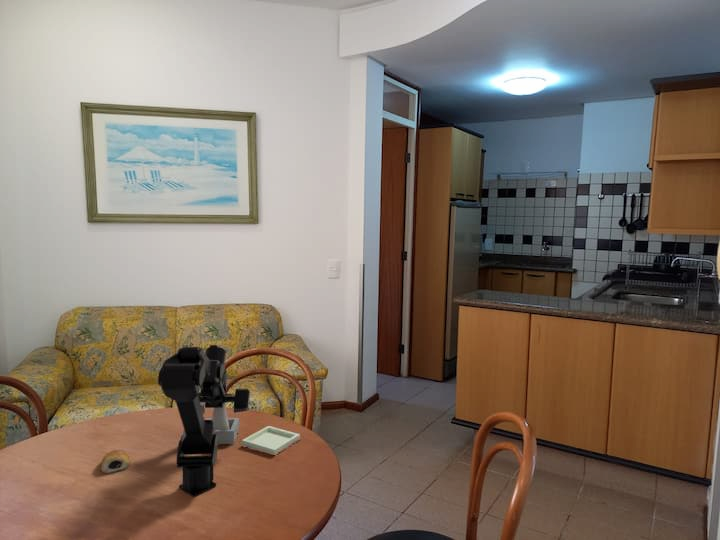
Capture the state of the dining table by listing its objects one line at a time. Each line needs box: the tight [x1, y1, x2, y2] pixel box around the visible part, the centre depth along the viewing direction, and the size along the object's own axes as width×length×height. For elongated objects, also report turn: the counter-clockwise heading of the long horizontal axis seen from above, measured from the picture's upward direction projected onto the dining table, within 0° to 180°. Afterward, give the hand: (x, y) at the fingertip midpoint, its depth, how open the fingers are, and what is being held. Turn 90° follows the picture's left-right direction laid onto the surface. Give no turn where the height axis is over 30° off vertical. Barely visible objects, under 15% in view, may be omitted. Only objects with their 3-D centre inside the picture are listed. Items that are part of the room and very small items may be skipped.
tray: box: [241, 425, 301, 455], centre depth 143 cm, size 12×12×2 cm
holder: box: [205, 417, 240, 445], centre depth 146 cm, size 10×10×4 cm
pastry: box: [101, 449, 131, 474], centre depth 129 cm, size 9×7×4 cm
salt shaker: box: [211, 396, 230, 430], centre depth 146 cm, size 6×6×13 cm
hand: (220, 412), depth 146 cm, fingers open, 9 cm apart
